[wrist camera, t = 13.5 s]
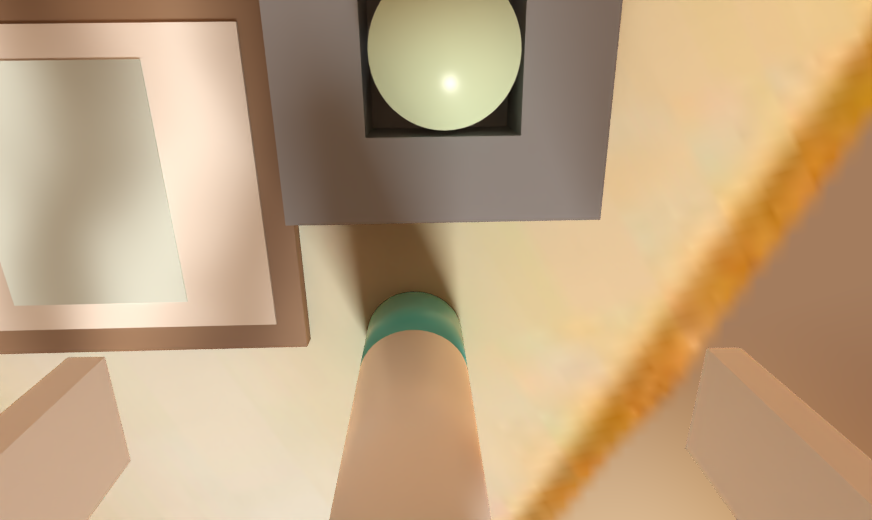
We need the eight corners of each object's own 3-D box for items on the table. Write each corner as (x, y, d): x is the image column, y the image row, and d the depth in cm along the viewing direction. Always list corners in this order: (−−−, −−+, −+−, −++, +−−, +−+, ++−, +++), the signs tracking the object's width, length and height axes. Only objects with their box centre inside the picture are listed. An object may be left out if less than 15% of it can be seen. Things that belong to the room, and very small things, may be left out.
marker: (368, 378, 20) (304, 756, 9) (362, 290, 19) (278, 607, 8) (463, 375, 21) (516, 747, 9) (464, 287, 19) (526, 597, 8)
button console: (309, 197, 18) (285, 225, 15) (278, -112, 15) (239, -162, 12) (568, 192, 18) (599, 219, 15) (592, -114, 15) (639, -163, 12)
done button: (380, 120, 15) (371, 131, 13) (373, -16, 14) (362, -36, 11) (501, 119, 15) (518, 129, 13) (505, -18, 14) (525, -37, 11)
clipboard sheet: (-129, 349, 19) (-154, 361, 19) (-289, -9, 15) (-330, -13, 14) (310, 338, 20) (305, 350, 19) (272, -14, 16) (263, -18, 15)
